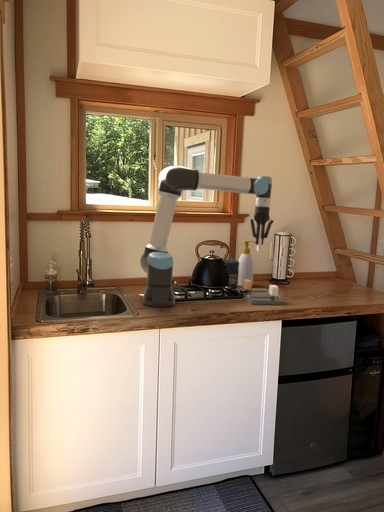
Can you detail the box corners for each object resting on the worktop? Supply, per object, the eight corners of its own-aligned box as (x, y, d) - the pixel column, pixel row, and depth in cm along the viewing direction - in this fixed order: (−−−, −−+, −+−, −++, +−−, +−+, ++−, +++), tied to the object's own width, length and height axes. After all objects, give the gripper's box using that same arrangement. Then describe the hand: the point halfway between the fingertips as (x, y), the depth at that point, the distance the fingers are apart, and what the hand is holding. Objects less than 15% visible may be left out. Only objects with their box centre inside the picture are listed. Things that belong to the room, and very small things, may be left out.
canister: (236, 294, 230) (238, 260, 227) (218, 292, 232) (220, 259, 229) (238, 290, 239) (240, 258, 237) (221, 288, 241) (223, 256, 239)
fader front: (271, 297, 216) (272, 287, 215) (268, 295, 221) (269, 284, 220) (277, 297, 216) (278, 287, 216) (274, 295, 221) (275, 285, 220)
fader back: (245, 291, 227) (245, 281, 226) (242, 289, 232) (243, 279, 231) (250, 291, 228) (251, 281, 227) (247, 289, 232) (248, 279, 232)
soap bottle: (254, 288, 248) (258, 242, 244) (234, 286, 248) (237, 241, 244) (252, 283, 259) (256, 240, 255) (233, 282, 259) (236, 239, 255)
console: (250, 304, 211) (251, 298, 211) (237, 291, 236) (237, 286, 236) (282, 304, 214) (282, 298, 213) (265, 292, 239) (266, 286, 239)
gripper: (252, 205, 222) (248, 251, 225) (276, 207, 224) (272, 252, 227) (248, 205, 229) (244, 249, 233) (272, 206, 231) (268, 250, 235)
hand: (258, 250), depth 230 cm, fingers closed
